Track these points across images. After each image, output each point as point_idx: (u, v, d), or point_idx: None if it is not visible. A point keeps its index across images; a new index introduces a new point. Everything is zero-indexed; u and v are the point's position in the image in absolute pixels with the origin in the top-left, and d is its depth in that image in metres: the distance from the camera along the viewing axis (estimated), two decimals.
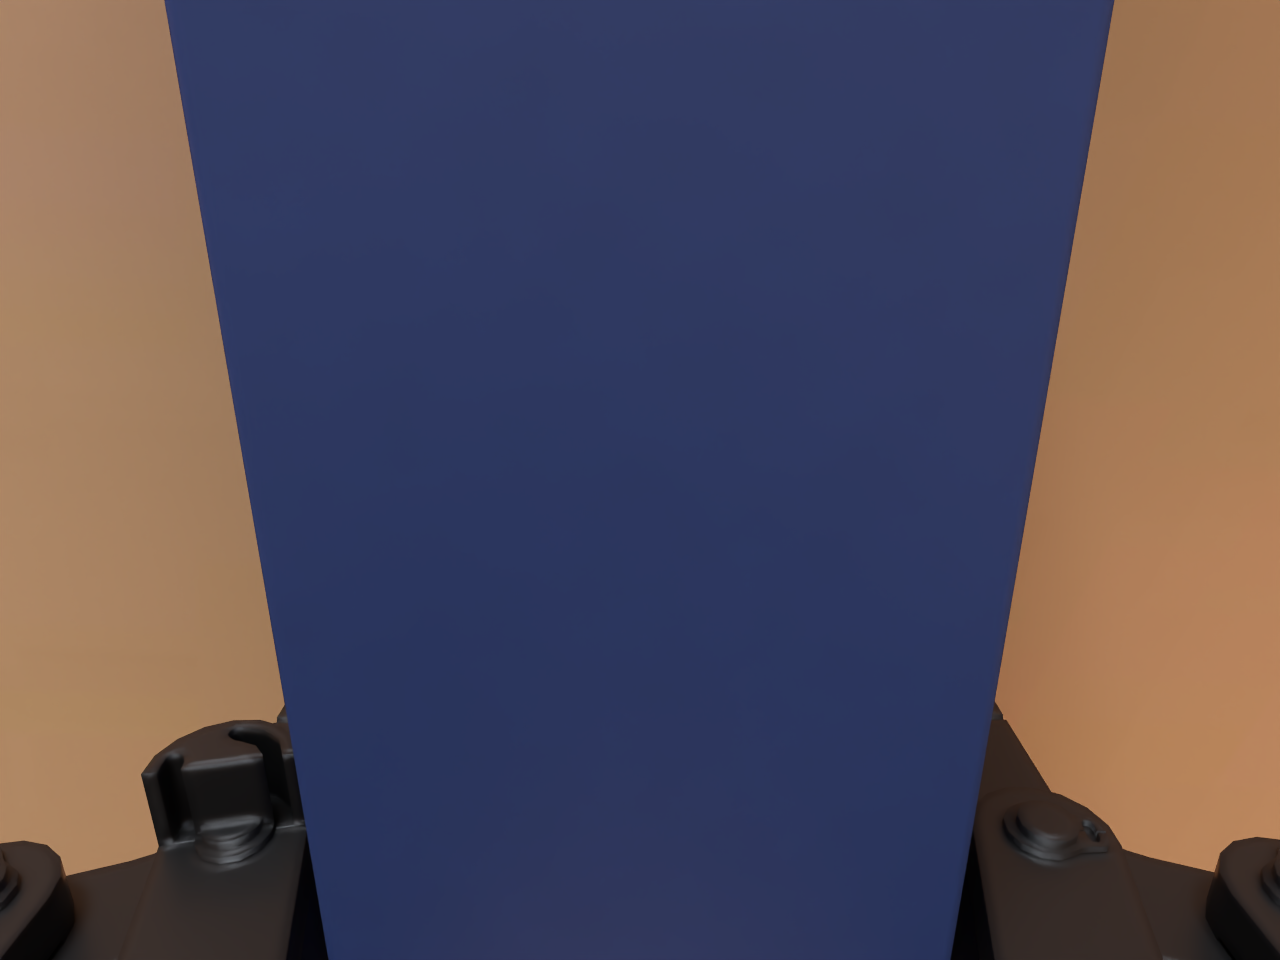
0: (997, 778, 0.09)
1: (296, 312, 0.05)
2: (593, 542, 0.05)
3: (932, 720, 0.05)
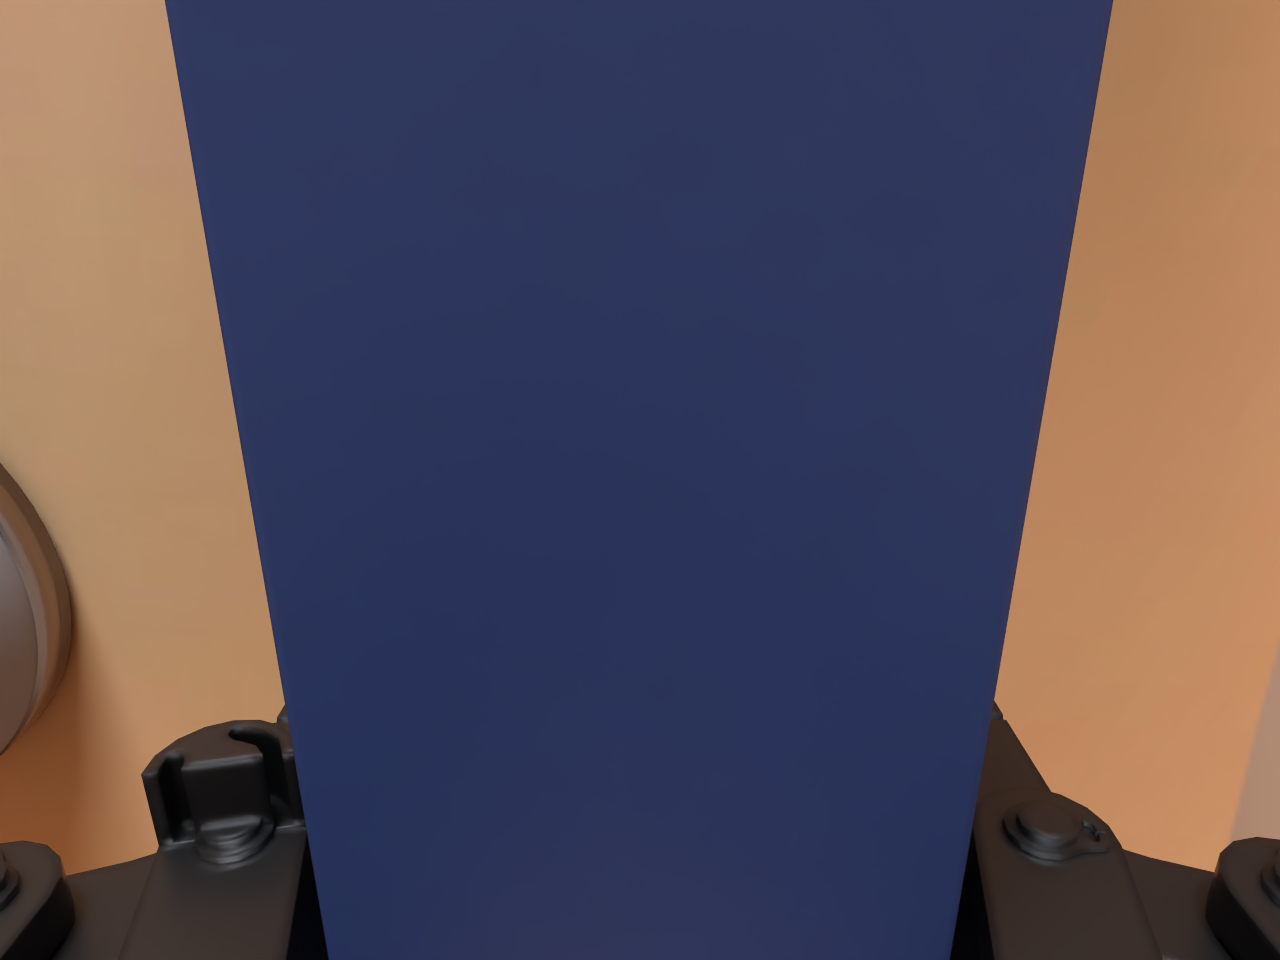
0: (997, 778, 0.09)
1: (296, 313, 0.05)
2: (593, 541, 0.05)
3: (931, 720, 0.05)
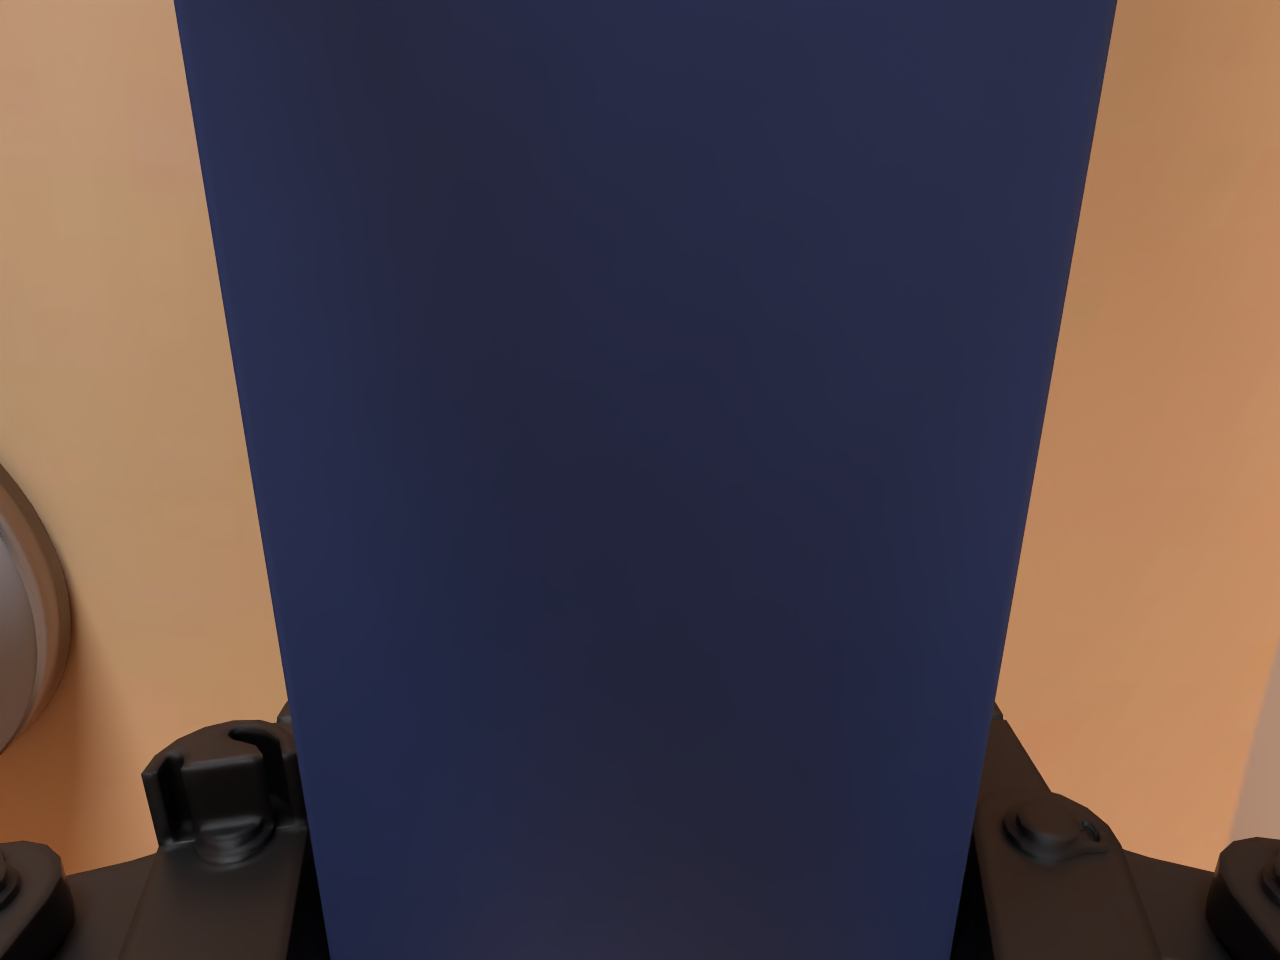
0: (997, 778, 0.09)
1: (302, 311, 0.05)
2: (597, 541, 0.05)
3: (932, 719, 0.05)
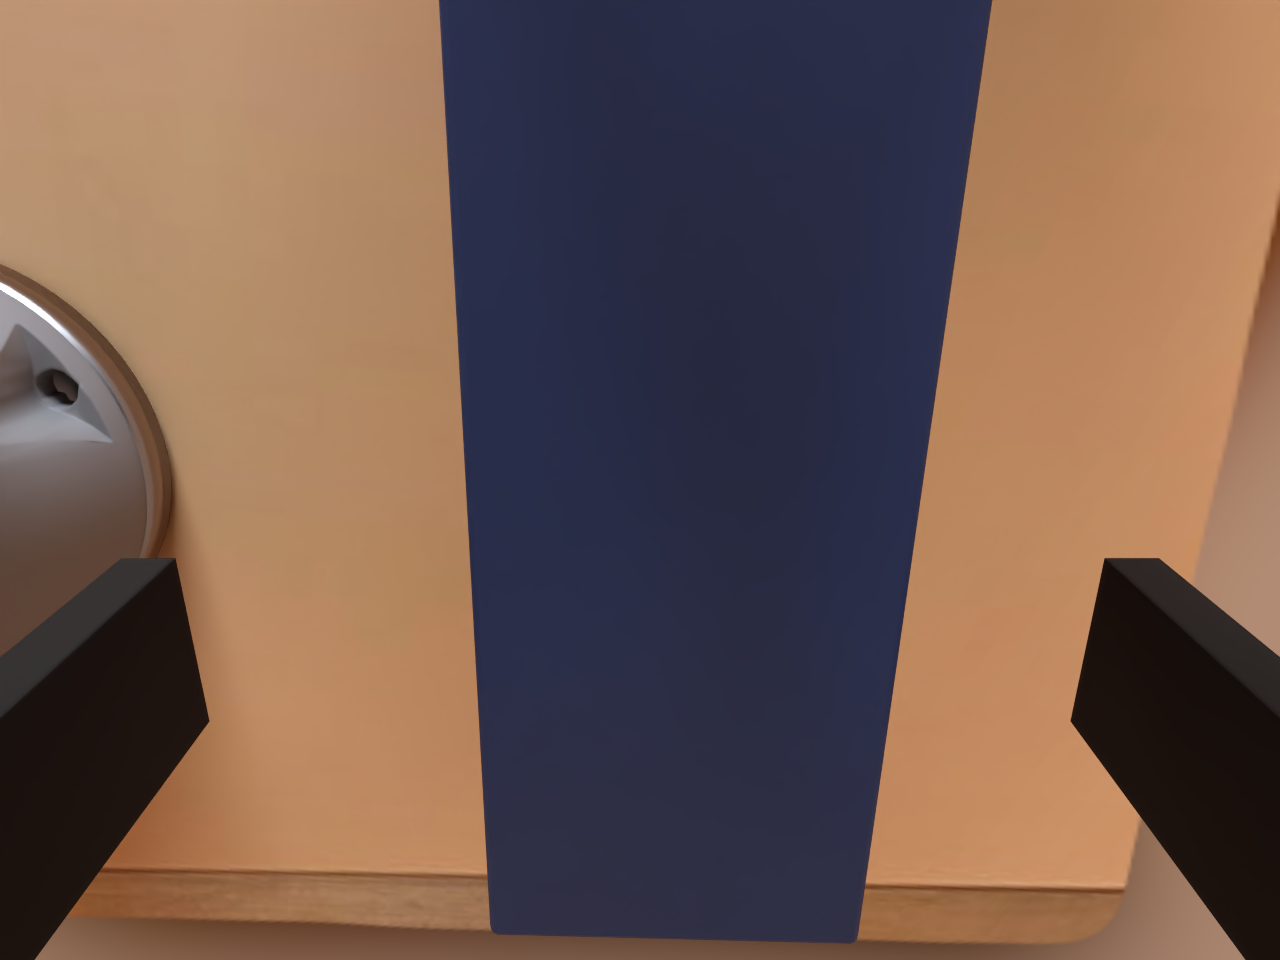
0: None
1: (492, 15, 0.07)
2: (676, 189, 0.08)
3: (901, 336, 0.08)
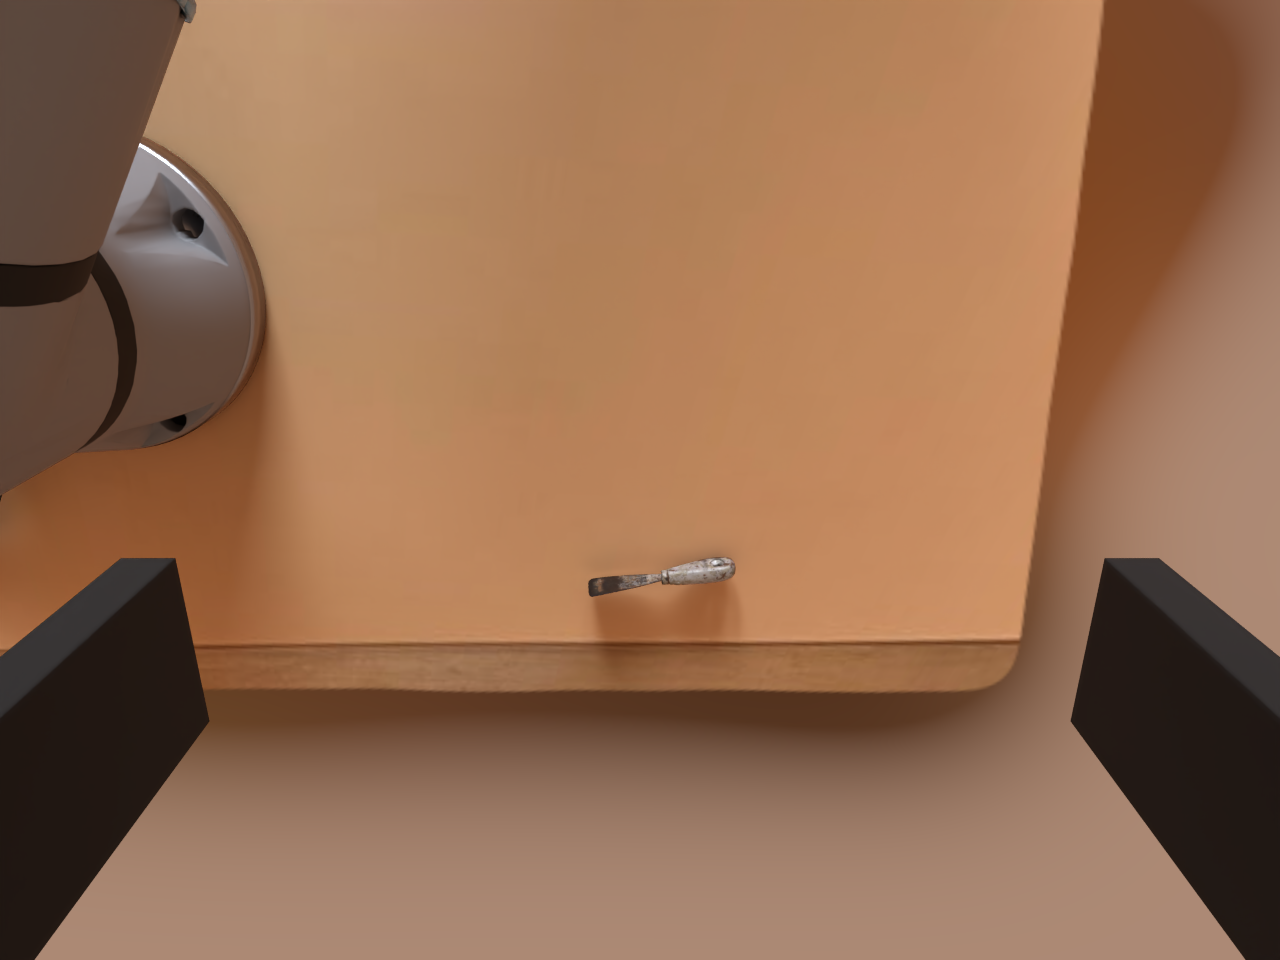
0: None
1: None
2: None
3: None
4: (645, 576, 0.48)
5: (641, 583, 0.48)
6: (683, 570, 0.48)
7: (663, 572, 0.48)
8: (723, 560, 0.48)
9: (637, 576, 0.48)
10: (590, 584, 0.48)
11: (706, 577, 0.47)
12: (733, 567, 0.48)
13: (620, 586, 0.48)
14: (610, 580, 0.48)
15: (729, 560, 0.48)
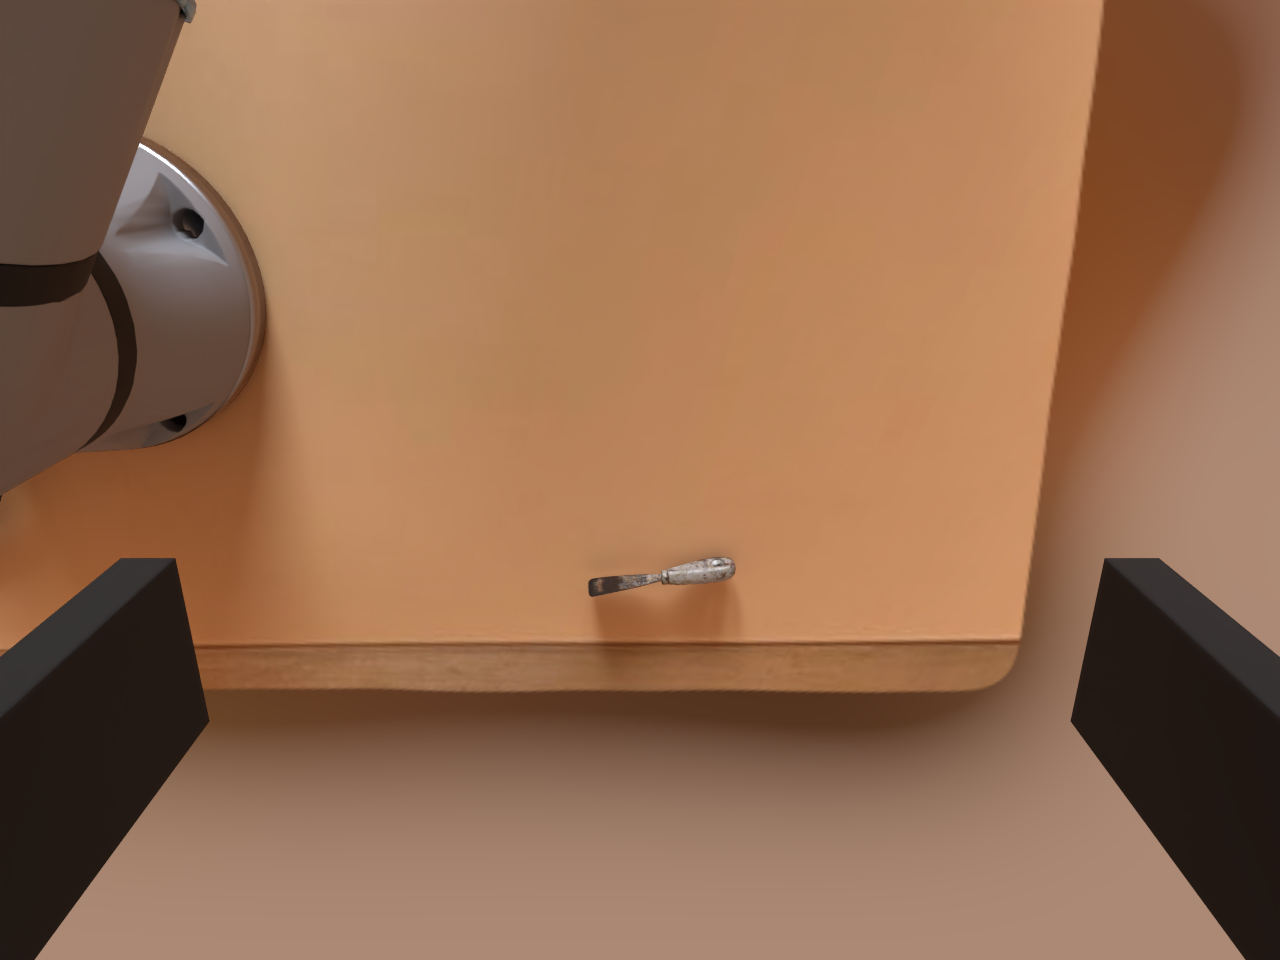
0: None
1: None
2: None
3: None
4: (645, 576, 0.48)
5: (641, 583, 0.48)
6: (683, 570, 0.48)
7: (663, 572, 0.48)
8: (723, 560, 0.48)
9: (637, 576, 0.48)
10: (590, 584, 0.48)
11: (706, 577, 0.47)
12: (733, 567, 0.48)
13: (620, 586, 0.48)
14: (610, 580, 0.48)
15: (729, 560, 0.48)
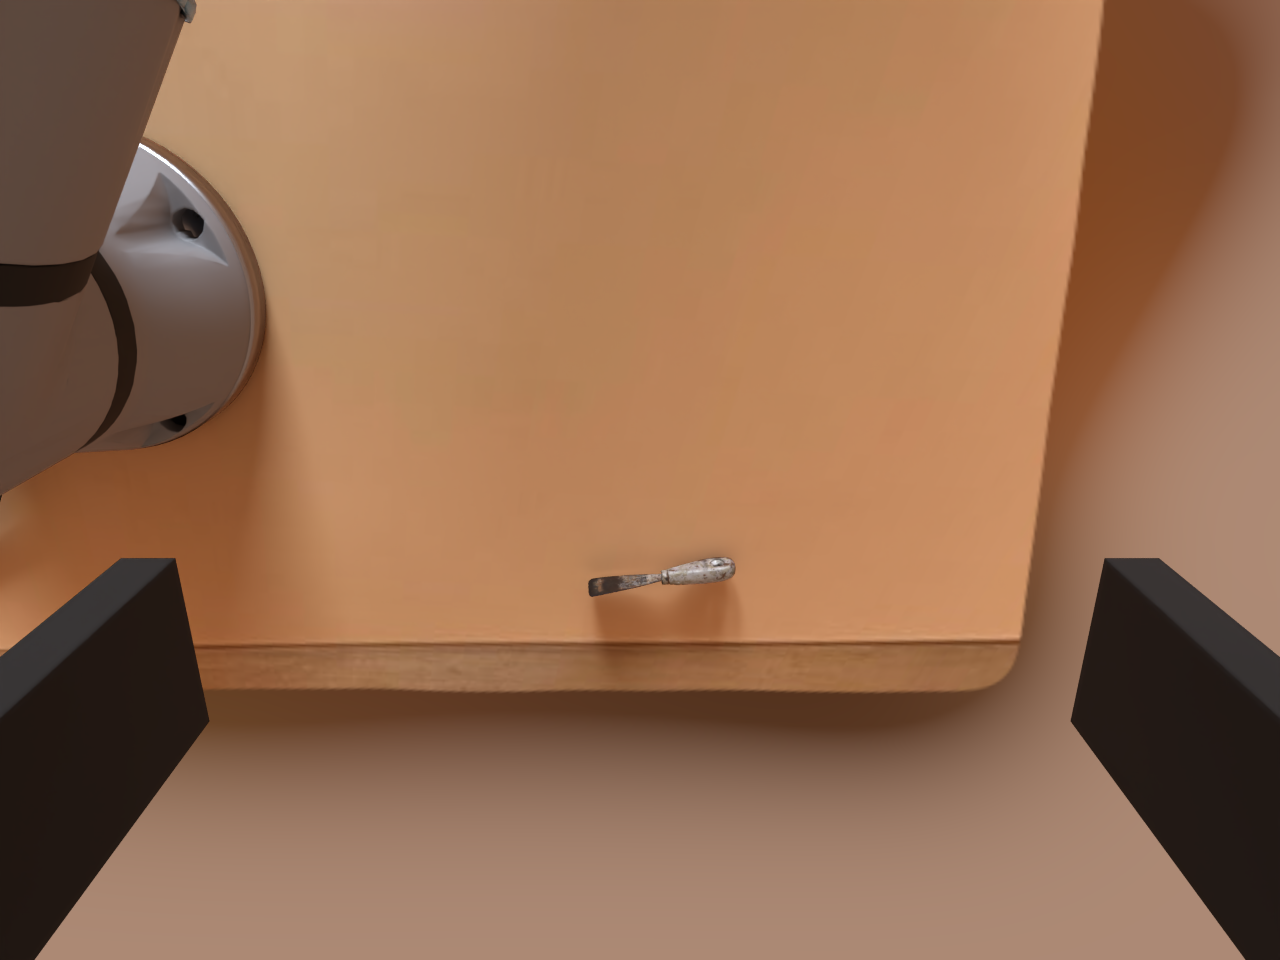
0: None
1: None
2: None
3: None
4: (645, 576, 0.48)
5: (641, 583, 0.48)
6: (683, 570, 0.48)
7: (663, 572, 0.48)
8: (723, 560, 0.48)
9: (637, 576, 0.48)
10: (590, 584, 0.48)
11: (706, 577, 0.47)
12: (733, 567, 0.48)
13: (620, 586, 0.48)
14: (610, 580, 0.48)
15: (729, 560, 0.48)
